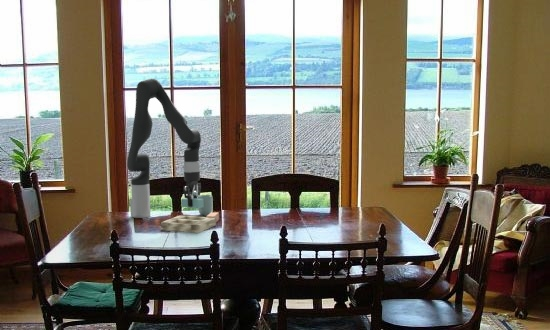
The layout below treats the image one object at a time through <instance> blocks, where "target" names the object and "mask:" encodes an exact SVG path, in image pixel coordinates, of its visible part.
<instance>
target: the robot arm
mask: <svg viewBox="0 0 550 330" xmlns="http://www.w3.org/2000/svg"><path fill="white" fill-rule="evenodd" d="M135 89H136V90H135V109H134V119H133V123H132V132H131V133H132V134H131V140H130V141H131V142H130V145H129V146H130V147H129V150H128V156H127V159H126V161H127V162H126V167H127V170H128V171H129V172H131V173H133V172H134V173H135V172H140V174H138V175H137V176H134V177H132V178H131V179H130V183H131V185H130V187H131V188H130V189H131V198H130V199H129V201H130V205H129V206H130V217H131V218H135V219H143V218H149V217H151V200H150V199H151V198H150V197H151V193H150V192H151V191H150V173H151V172H150V171H151V169H150V167H151V166H150V165H151V164H150V163H151V162H150V157H149V155H148V154H147V153H139V151H140V150H141V148H142V147H143V145H144V144H145V143H146V142H147V141H148V140H149V138H150V137H151V134H152V131H153V120H152V117H151V115H150V112H149V104H150V103H149V102H150V99H156V100H157V101H159V102H160V105H161V106H162V109H163V114H164V117H165V119H166V120H167V122H168V123H169V124H170V125H171V126H172V128H174V130H175V132H176V134H177V135H178V137H179V139H180V141H181V142H183V143H184V144H186V145H187V146H186V149H185V150H184V151H183V180H184V181H185V182H186V184H185V186H183V187H182V189H183V196H184V198H187V199H188V207H192V206H193V204H192V198H198V196H200V195H201V189H202V183H200V182H198V181H200V180H201V170H200V169H201V167H200V165H201V164H200V155H199V152H200V147H201V142H202V136H201V133H200V131H199V129H196V128H190V127H189V126H188V121H187V119H186V117H185V116H184V115H183V114H182V113H181V112H180V111H179V110H178V109H177V107H176V106H175V105H174V103H173V102H172V100H171V98H170V96H169V95H168V93H167V91H166V90H165V88H164V87H163V85H162V83H161V82H160V81H159V80H158V79H156V78H149V79H144V80H141V81H139V82H138V84H137V85H136V88H135ZM188 207H187V208H188Z"/></svg>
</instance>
